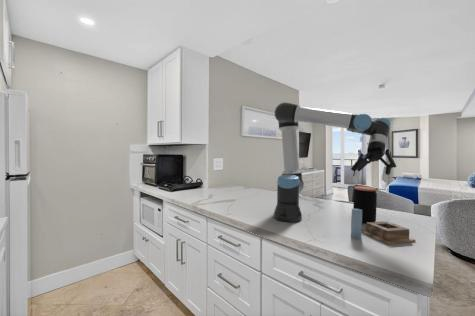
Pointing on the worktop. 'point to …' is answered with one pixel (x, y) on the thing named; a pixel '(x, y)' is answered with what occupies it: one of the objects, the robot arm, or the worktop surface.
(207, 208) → the worktop surface
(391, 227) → the socket block
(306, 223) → the worktop surface
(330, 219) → the worktop surface
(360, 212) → the dowel
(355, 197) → the coffee jar
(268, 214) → the worktop surface
